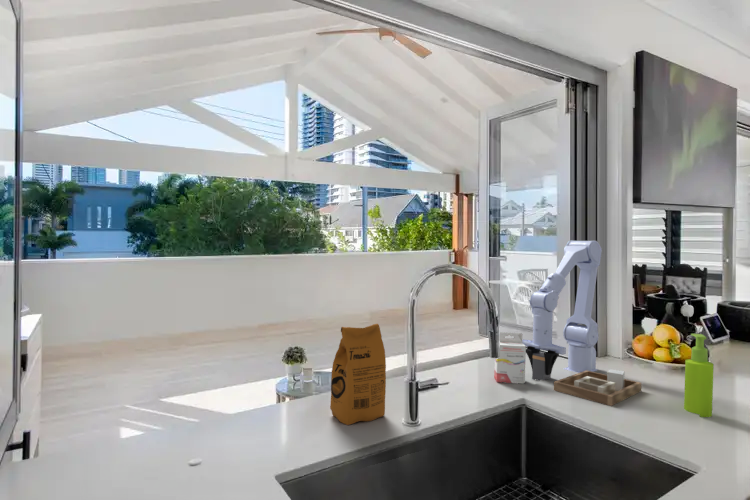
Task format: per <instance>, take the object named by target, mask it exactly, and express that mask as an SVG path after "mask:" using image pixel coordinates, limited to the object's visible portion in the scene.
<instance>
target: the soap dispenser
mask: <svg viewBox="0 0 750 500" xmlns="http://www.w3.org/2000/svg"><path fill="white" fill-rule="evenodd" d="M690 336H691V337H695V346H693V347H691V355H690V356H691V358H689V359H685V361H684V363H685V366H684V367H685V368H684V395H683V397H684V398H683V400H684V401H683V409H684V411H686V412H689V413H692V414H696V415H698V416H699V417H700V418H711V417H712V416H713V395H714V392H713V391H714V363H713V362H710V361H709V360H708V359H709V358H708V356H709V354H708V353H709V349H708V348H706V347H705V340H707V336H706V335H704V334H703V333H690Z"/></svg>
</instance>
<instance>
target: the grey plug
mask: <svg viewBox="0 0 750 500" xmlns="http://www.w3.org/2000/svg"><path fill="white" fill-rule="evenodd" d="M625 373H626V372H625V371H624V370H618V369H612V368H609V369H608V370H607V372H606V375H607V381H610V382H615V391H619V390H621V389H623V388H624V379H625Z"/></svg>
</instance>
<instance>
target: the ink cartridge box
mask: <svg viewBox="0 0 750 500" xmlns="http://www.w3.org/2000/svg"><path fill="white" fill-rule="evenodd" d="M499 332H500V358H498V359H495V358H494V371H493V373H494V375H493V376H494V380H495V381H496V383H502V382H506V383H505V384H518V383H525V382H526V381H525V380H526V357H527V353H526V349H527V348H526V346H525V345H524V344H523V343H522V340H523V333H522V332H503V331H502V332H501V331H499ZM509 336H510V337H511V338H510V337H509ZM512 337H513V338H512Z"/></svg>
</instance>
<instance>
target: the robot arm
mask: <svg viewBox="0 0 750 500" xmlns="http://www.w3.org/2000/svg"><path fill="white" fill-rule="evenodd" d="M602 250H603V249H602V247H601V245H600V243H599V242H598V241H597V240H574V239H571V240H568V241H567V243H566V244H565V246H564V248H563V257H562V259H561V261H560V262H559V264H558V266H557V268H556V270H555V272H554V273H549V274H548V275H547V277H546V279H545V280H544V282H542V283H543V284H542V285H541V287H540V288H539V289H538V290H536V291H534V292H533V293H532V294H531V295H530V299H529V300H528V301H529V302H528V303H529V306H530V308H531V314H532V316H533V318H532V323H533V324H532V340H529V339H523V338H522V343H523V344H524V345H525V346H526V347H527V348H526V356H527V357H528V360H529V363H530V366H531V369H532V368H533V353H537V352H541V351H545V352H543V353H544V357H545V364H546V366H545V372H546V375H550V374H551V375H552V371H553V369H554V365H555V363H556V360H557V359H558V358H559V356H560V355H566V354H568V355H567V356H568V357H567V358H568V359H567V367H563V368H562V369H563V370H564V371H565V370H566V371H569V372H574V373H580V372H583V371H586V370H587V371H592V372H596V371H598V370H599V369H598V368H596V365H597V363H596V362H597V351H596V348H595V345H596V344H597V342H598V340H599V330H598V328H599V324H598V323H597V322H596V321H595V320H594V319H593V318H592V311H593V304H594V298H595V290H596V282H597V278H598V277H597V276H598V269H599V266H600V265H601V259H602ZM575 266H577V267H578V268H579V277H578V285H577V290H576V296H575V304H574V305H575V306H574V311H573V314H572V315H571V316H570V317H568V318H567V319H566V323H565V326H564V327H563V331H562V335H563V338H564V340H565V341H566V344H568V349H567V348H566V347H564V346H561V345H558V344H554V343H553V320H554V310H555V309H556V308H557V307H558V301H559V298H560V296H559V295H560V293H562V291H563V289H564V287H565V286H566V284H567V280H566V278H567V276H568V275H569V274H570V272H571V271H572V270H573V269H574V267H575ZM566 351H568V353H567V352H566Z"/></svg>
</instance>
